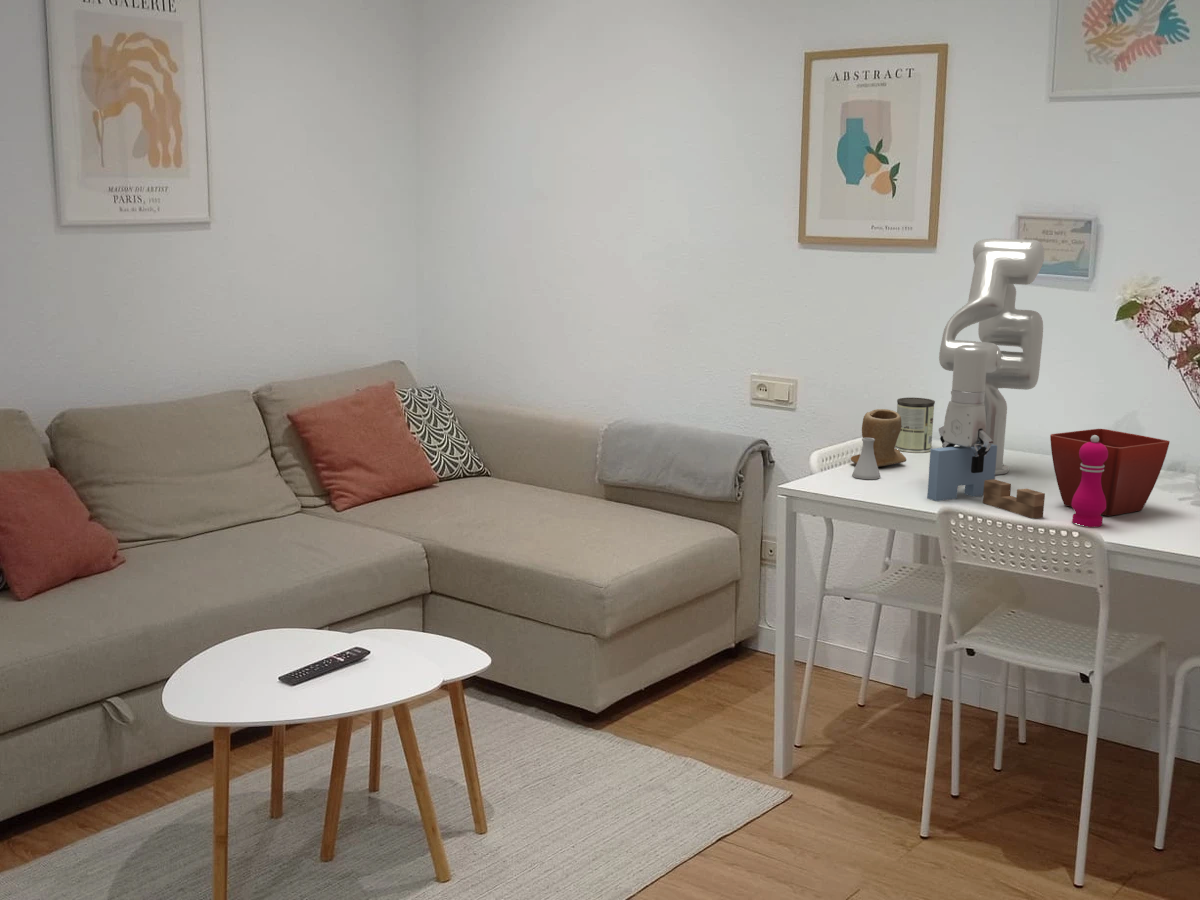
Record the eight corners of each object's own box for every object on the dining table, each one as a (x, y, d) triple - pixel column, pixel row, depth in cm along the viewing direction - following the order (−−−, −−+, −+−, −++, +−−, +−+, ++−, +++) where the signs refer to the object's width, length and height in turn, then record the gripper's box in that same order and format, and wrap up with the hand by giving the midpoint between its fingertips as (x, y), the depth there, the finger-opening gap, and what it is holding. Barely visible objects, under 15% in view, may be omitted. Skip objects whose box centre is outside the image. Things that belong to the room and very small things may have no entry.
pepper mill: (1064, 519, 294) (1072, 432, 290) (1095, 519, 294) (1103, 432, 290) (1078, 528, 287) (1086, 438, 283) (1110, 527, 287) (1118, 438, 283)
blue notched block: (935, 501, 309) (939, 451, 307) (927, 498, 312) (930, 448, 310) (993, 494, 317) (997, 445, 315) (984, 491, 320) (988, 443, 318)
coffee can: (892, 445, 376) (895, 396, 374) (928, 446, 375) (931, 397, 373) (896, 452, 366) (899, 402, 363) (934, 453, 365) (937, 403, 363)
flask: (880, 481, 330) (883, 442, 328) (851, 479, 331) (853, 440, 329) (880, 475, 337) (883, 436, 335) (852, 473, 338) (854, 435, 336)
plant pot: (1094, 495, 318) (1100, 427, 315) (1164, 512, 302) (1172, 440, 299) (1042, 504, 308) (1047, 434, 304) (1111, 522, 292) (1119, 448, 289)
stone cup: (873, 472, 340) (877, 415, 337) (844, 463, 350) (847, 408, 347) (918, 467, 347) (921, 411, 344) (888, 459, 357) (891, 404, 354)
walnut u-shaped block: (982, 503, 308) (984, 480, 307) (992, 501, 309) (994, 479, 308) (1033, 518, 294) (1035, 494, 293) (1042, 517, 295) (1044, 493, 294)
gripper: (930, 393, 316) (926, 462, 319) (981, 404, 301) (976, 477, 304) (954, 391, 319) (950, 460, 323) (1006, 402, 304) (1000, 474, 307)
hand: (962, 468), depth 313 cm, fingers open, 9 cm apart
